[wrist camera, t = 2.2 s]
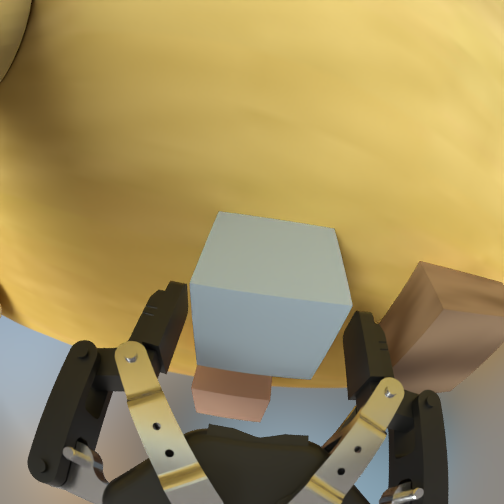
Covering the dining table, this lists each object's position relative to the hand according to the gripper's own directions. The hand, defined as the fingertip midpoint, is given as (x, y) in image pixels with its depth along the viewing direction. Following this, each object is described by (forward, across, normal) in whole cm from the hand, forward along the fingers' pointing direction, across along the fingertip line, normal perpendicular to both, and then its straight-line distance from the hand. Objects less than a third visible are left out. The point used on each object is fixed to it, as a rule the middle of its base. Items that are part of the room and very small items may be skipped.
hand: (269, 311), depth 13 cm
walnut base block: (+3, -12, +2) cm, 13 cm away
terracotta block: (+3, +1, +7) cm, 8 cm away
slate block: (+3, 0, -1) cm, 3 cm away
